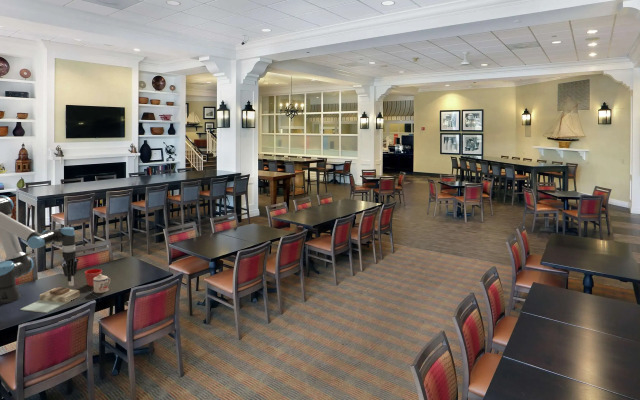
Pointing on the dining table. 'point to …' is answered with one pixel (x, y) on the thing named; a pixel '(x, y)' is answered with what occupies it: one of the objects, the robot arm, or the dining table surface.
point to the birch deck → (60, 296)
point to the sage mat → (43, 306)
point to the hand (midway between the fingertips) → (71, 285)
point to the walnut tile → (59, 291)
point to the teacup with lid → (101, 283)
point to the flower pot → (92, 275)
